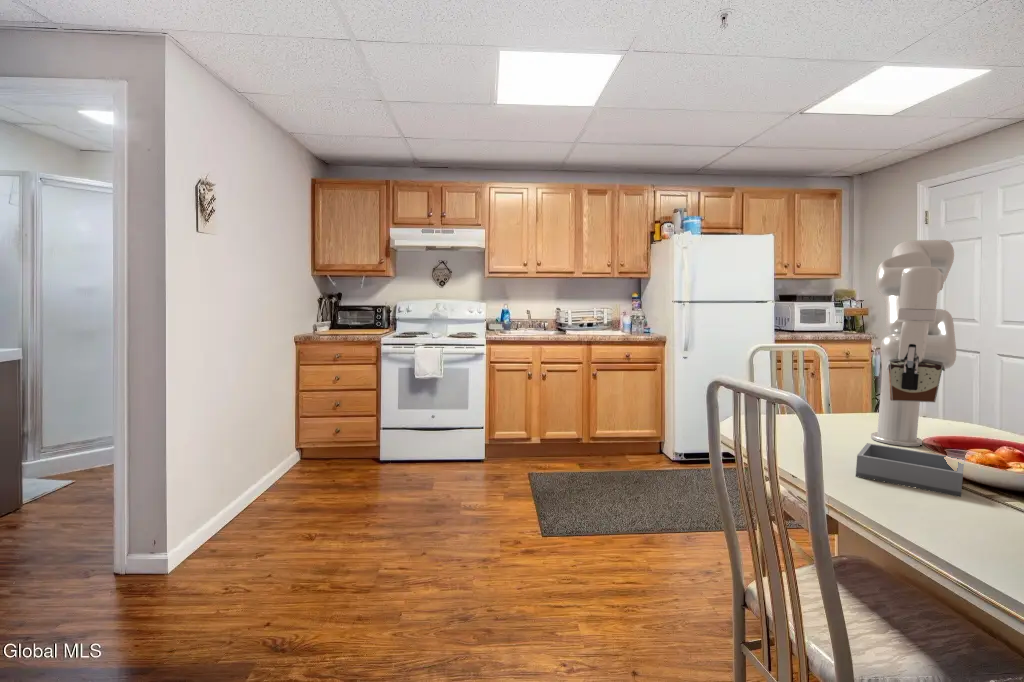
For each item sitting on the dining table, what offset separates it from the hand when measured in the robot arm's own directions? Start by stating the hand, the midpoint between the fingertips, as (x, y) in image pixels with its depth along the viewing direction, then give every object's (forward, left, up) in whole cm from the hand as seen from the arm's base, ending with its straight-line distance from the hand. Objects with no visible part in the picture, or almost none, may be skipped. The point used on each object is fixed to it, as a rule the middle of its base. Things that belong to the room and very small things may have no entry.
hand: (910, 387), depth 138 cm
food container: (-1, 0, -3) cm, 4 cm away
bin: (+15, +2, -19) cm, 24 cm away
